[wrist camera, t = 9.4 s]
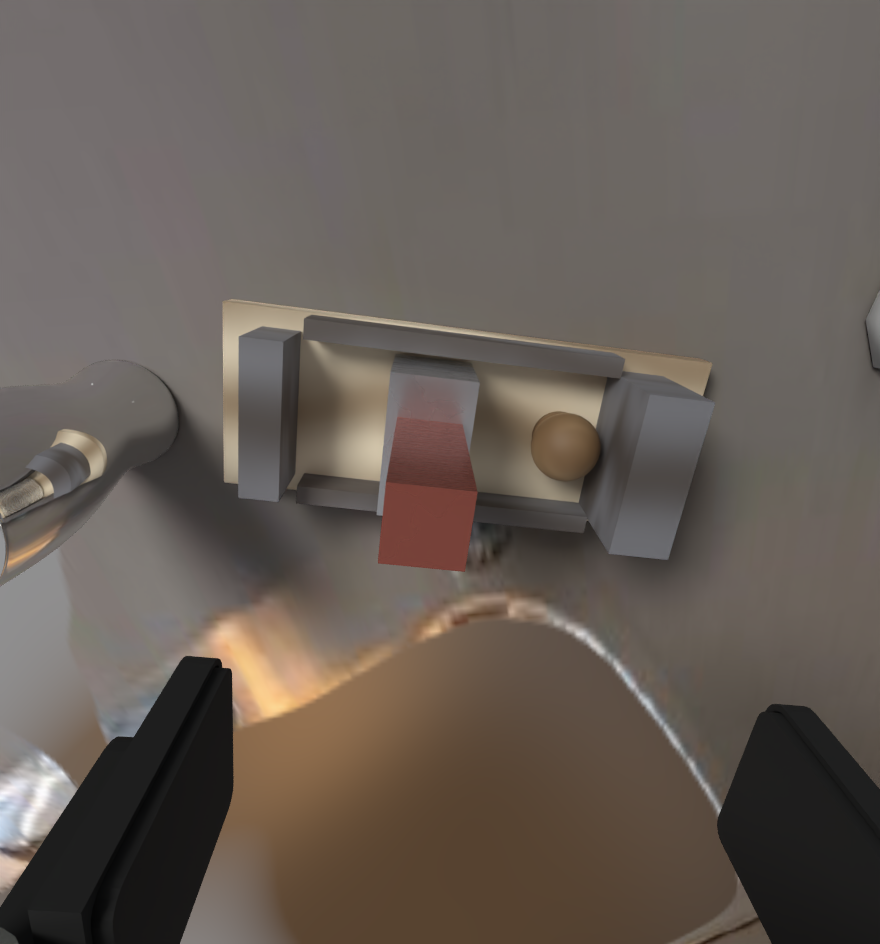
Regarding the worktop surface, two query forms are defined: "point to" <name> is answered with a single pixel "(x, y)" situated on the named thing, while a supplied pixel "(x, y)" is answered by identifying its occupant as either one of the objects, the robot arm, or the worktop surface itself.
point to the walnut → (564, 446)
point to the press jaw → (428, 464)
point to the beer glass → (73, 452)
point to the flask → (874, 331)
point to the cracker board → (495, 424)
